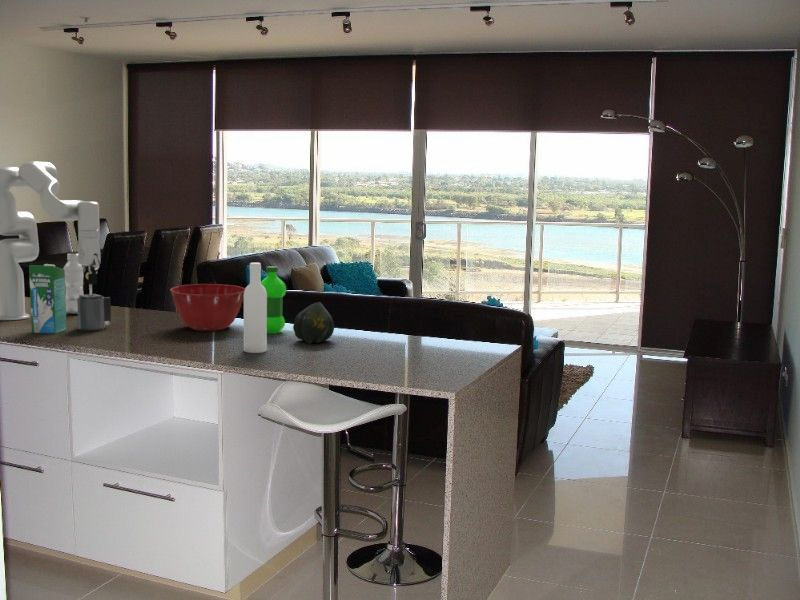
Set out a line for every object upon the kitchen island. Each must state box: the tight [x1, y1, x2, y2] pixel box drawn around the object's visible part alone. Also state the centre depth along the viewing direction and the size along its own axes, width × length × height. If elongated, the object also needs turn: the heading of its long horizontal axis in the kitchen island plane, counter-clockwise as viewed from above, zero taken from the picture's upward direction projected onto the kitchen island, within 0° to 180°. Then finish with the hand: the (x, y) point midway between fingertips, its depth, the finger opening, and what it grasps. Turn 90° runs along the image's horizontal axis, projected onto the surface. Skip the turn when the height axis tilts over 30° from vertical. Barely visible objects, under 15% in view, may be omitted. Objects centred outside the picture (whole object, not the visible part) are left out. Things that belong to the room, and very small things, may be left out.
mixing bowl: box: [169, 283, 246, 332], centre depth 336 cm, size 28×28×16 cm
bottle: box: [243, 262, 268, 354], centre depth 294 cm, size 8×8×30 cm
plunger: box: [86, 272, 93, 296], centre depth 328 cm, size 6×6×16 cm
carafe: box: [77, 293, 112, 332], centre depth 330 cm, size 9×12×13 cm
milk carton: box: [28, 263, 67, 335], centre depth 322 cm, size 9×9×25 cm
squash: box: [292, 301, 335, 345], centre depth 315 cm, size 14×15×15 cm
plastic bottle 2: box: [261, 265, 287, 335], centre depth 330 cm, size 10×10×25 cm
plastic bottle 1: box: [63, 253, 84, 315], centre depth 361 cm, size 8×8×25 cm
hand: (90, 283), depth 327 cm, fingers closed on plunger, 3 cm apart
